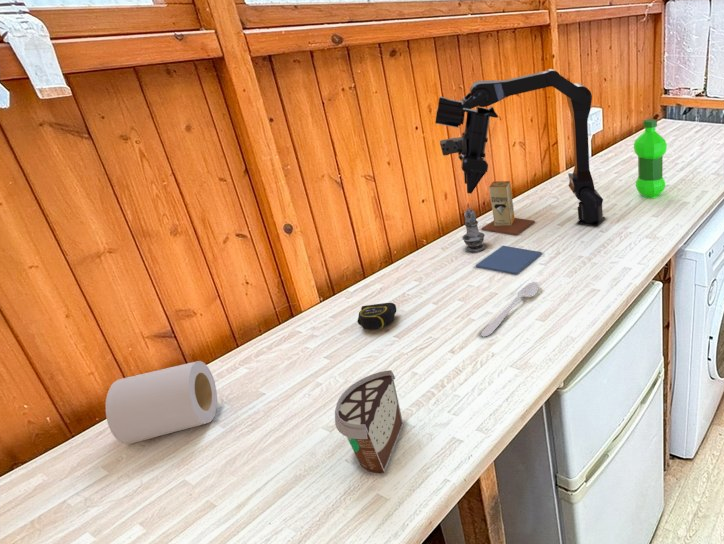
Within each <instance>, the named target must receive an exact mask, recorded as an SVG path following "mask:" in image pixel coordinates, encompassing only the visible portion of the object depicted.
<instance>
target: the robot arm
mask: <svg viewBox="0 0 724 544" xmlns="http://www.w3.org/2000/svg"><path fill="white" fill-rule="evenodd" d="M550 87H552V88H554V89H556V90H557V91H559V92H560V93H561V94H563V95H564V96H565V97H566V102H567V105H568V109H569V112H570V116H571V123H572V141H573V161H574V162H573V164H574V165H573V166H574V167H573V171H572V172H570V173H568V179H569V180H568V181H569V183H568V187H569V189H570V191H571V192H572V194H574V196H575V198H576V199H577V200H578V201H579V202H578V206H577V219H578V221H577V223H576V224H577V225H582V226H589V227H598V226H599V225H601V224H602V223H603V221H605V220H606V217H605V216H604V213H603V202H604V198H603V197H602V196H601V194H600V193H599V192H598V190H596V187H595V185H594V180H593V177H592V174H591V170H590V152H589V125H588V121H589V116H590V113H591V109H592V101H593V95H592V91H591V90H590V89H589V88H588V87H586V86H585V85H583V84H581V83H579V82H578V83H577V82H575V83H573V82H571V80H569V79H567V78H565V77H564V76H563V75H562V74H560V73H559V71H557V70H555V69H552V68H549V69H546V70H544V71H540V72H536V73H531V74H526V75H523V76H518V77H513V78H509V79H504V80H499V79H498V80H496V79H495V80H494V79H492V80H491V79H489V80H488V79H487V80H477V81H475V82H473V83H472V84H471V86H470V88H469V92H468V93H467V94H466V95H465V96H464V97H462V99H461V100H456V99H450V98H447V97H445V96H439V97H438V103H437V108H436V113H435V114H436V115H435V122H434V124H435V125H441V126H446V127H453V128H459V126H462V125H464V120H465V126H464V131H463V132H462V134H461V136H459V137H451V138H445V139H441V140H439V145H440V148H441V153H442V156H444V157H445V156H449V155H452V154H453V155H454V154H457V155H458V159H459V160H460V161H461V165H460V168H461V170H462V172H463V180H464V184H465V185H466V193H467V194H469V195H470V194H473V192H474V191H475V189H476V188H477V186H478V184H479V183H480V181H481V180H482V178H483V177H484V176H485V175H486V173H488V170H489V163H488V161H487V160H486V159H485V158H486V145H487V143H488V131H489V125H490V119H491V118H495V119H497V118H498V117H499V115H498V113H497V112H496V111H495V108H494V107H493V106H491V105H494V104H496V103H498V102H500V101H502V100H504V99H506V98H508V97H511V96H516V95H520V94H523V93H528V92H532V91H537V90H542V89H546V88H550ZM489 106H490V107H489ZM486 107H489V108H486ZM474 108H476V109H474ZM465 114H466V119H465Z"/></svg>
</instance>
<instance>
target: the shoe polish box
mask: <svg viewBox="0 0 724 544" xmlns="http://www.w3.org/2000/svg"><path fill="white" fill-rule="evenodd" d="M488 190H489V196H490V203H491V210H492V216H493V221H494V225H495V226H503V225H512V223H513V221H514V219H515V218H516V217H515V210H514V202H513V194H512V185H511V181H510V180H502V181H499V180H498V181H492V182H491V184H490V185H489V187H488Z"/></svg>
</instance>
